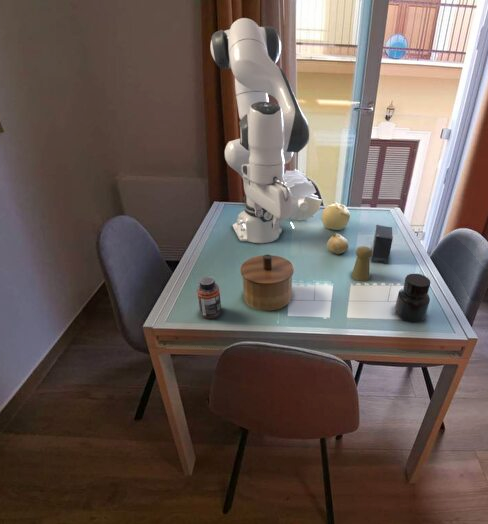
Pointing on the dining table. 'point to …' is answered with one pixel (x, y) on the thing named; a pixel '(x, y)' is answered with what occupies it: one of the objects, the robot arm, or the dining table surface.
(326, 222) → the beige round lump
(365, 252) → the tan pawn
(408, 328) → the dining table surface
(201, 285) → the supplement bottle
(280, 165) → the robot arm
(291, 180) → the spiral staircase
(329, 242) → the onion
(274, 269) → the lid
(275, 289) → the round wooden box
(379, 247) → the small box
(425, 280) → the ink bottle
